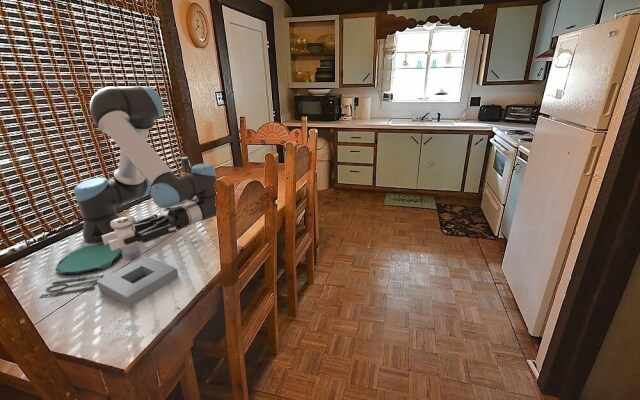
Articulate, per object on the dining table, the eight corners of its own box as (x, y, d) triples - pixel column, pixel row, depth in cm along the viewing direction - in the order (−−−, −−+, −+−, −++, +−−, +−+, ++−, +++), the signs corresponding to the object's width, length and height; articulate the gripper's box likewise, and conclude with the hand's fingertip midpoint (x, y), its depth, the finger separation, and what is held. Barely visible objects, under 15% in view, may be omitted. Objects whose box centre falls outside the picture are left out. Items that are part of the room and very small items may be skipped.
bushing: (116, 258, 91) (105, 222, 87) (136, 249, 96) (127, 214, 92) (128, 264, 89) (117, 226, 84) (148, 254, 94) (139, 218, 89)
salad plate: (175, 213, 150) (174, 204, 148) (148, 208, 156) (146, 200, 154) (202, 199, 167) (201, 191, 165) (177, 196, 172) (175, 188, 171)
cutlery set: (132, 243, 121) (130, 238, 120) (100, 291, 94) (98, 285, 93) (75, 251, 117) (73, 245, 116) (25, 303, 90) (22, 296, 89)
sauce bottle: (181, 191, 179) (175, 158, 172) (189, 188, 185) (183, 155, 177) (190, 192, 177) (183, 159, 170) (197, 189, 182) (192, 156, 175)
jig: (99, 290, 93) (96, 281, 92) (148, 264, 106) (146, 256, 105) (129, 307, 86) (126, 297, 85) (178, 277, 99) (176, 268, 98)
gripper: (200, 233, 99) (122, 265, 82) (173, 219, 110) (99, 245, 93) (196, 212, 96) (114, 240, 79) (169, 200, 107) (92, 223, 90)
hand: (106, 243), depth 86 cm, fingers closed on bushing, 5 cm apart
